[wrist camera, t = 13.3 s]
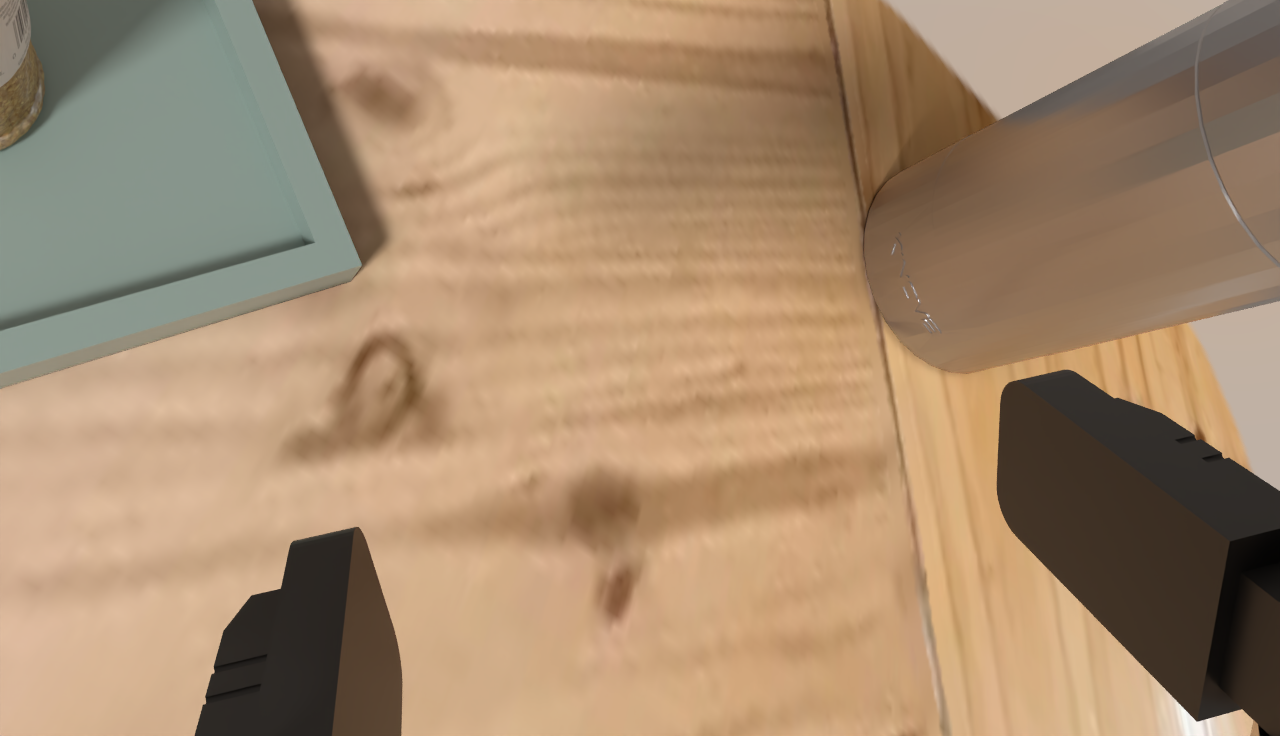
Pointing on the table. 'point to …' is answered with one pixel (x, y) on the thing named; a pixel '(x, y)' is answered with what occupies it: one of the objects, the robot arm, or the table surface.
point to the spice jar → (18, 73)
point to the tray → (156, 184)
